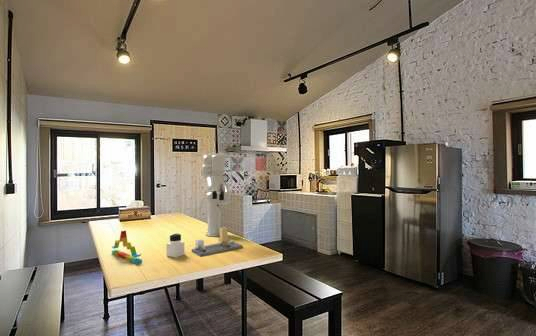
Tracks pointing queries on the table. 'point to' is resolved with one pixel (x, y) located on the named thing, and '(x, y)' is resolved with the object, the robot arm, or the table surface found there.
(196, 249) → the bolt plate
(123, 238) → the multicolored stepped triangle frame
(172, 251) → the medicine bottle
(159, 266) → the table surface
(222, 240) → the brass slider
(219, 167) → the robot arm
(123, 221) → the table surface
